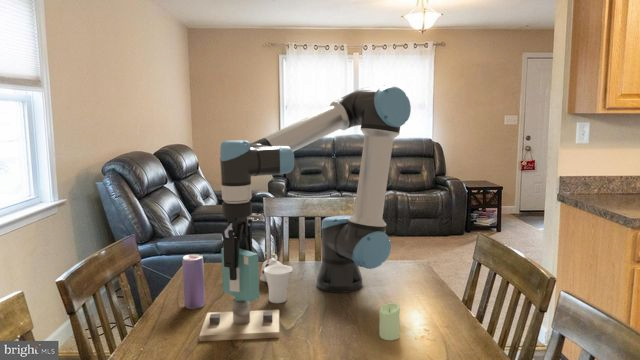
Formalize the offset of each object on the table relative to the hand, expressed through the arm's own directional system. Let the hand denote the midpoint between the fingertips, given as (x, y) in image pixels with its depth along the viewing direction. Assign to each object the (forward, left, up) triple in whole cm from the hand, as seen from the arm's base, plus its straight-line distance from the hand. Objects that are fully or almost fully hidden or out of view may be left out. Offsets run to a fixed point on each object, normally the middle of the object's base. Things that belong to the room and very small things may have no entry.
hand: (239, 286), depth 127 cm
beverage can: (+15, -16, -11) cm, 24 cm away
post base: (0, 0, -11) cm, 11 cm away
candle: (-38, +9, -11) cm, 41 cm away
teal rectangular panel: (0, 0, -3) cm, 3 cm away
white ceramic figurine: (-8, -34, -11) cm, 37 cm away
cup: (-10, -18, -11) cm, 23 cm away
